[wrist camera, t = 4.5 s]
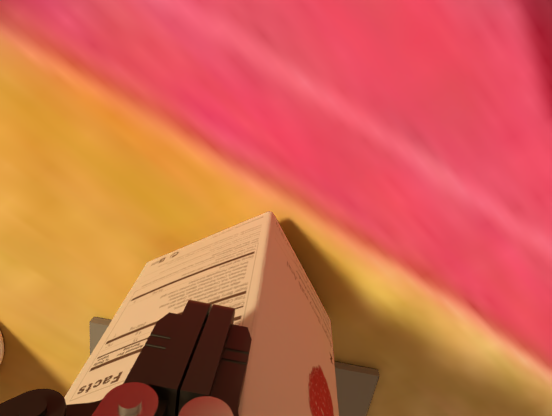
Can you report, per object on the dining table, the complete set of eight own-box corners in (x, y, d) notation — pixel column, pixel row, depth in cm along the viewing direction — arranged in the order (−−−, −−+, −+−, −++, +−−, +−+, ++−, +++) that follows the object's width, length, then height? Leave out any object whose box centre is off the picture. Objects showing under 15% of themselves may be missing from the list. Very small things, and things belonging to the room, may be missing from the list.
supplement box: (335, 321, 27) (367, 636, 14) (214, 361, 29) (139, 667, 16) (274, 205, 24) (236, 471, 10) (142, 259, 26) (-33, 538, 12)
